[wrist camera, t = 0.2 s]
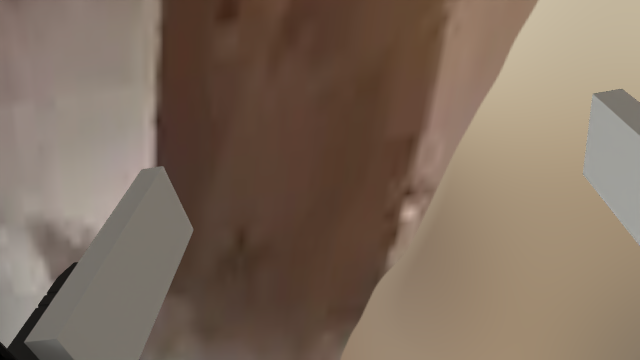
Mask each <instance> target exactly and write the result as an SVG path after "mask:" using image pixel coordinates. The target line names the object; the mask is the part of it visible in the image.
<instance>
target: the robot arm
mask: <svg viewBox="0 0 640 360" xmlns="http://www.w3.org/2000/svg"><path fill="white" fill-rule="evenodd" d="M583 175H584V176H585V177H586V178H587V180H588V181H589V182H590V184H591V185H592V186H593V188H594V189H595V190H596V191H597V193H598V194H599V195H600V196H601V198H602V199H603V200H604V201H605V203H606V204H607V205H608V206H609V208H610V209H611V210H612V211H613V213H614V214H615V215H616V217H617V218H618V219H619V220H620V222H621V223H622V224H623V226H624V227H625V228H626V229H627V231H628V232H629V233H630V234H631V235H632V237H633V238H634V239H635V241H636V242H637V243H638V245H639V246H640V102H638V101H637V100H636V99H635V98H633V97H632V96H631V95H629V94H628V93H627V92H625V91H624V90H623V89H618V90H612V91H606V92H600V93H594V94H593V96H592V104H591V112H590V120H589V128H588V136H587V144H586V153H585V161H584V169H583ZM192 232H193V228H192V226H191V224H190V221H189V219H188V217H187V215H186V213H185V211H184V209H183V207H182V205H181V203H180V201H179V199H178V196H177V194H176V192H175V190H174V188H173V186H172V184H171V182H170V180H169V178H168V176H167V173H166V171H165V169H164V167H163V166H161V167H155V168H149V169H143V170H141V171H140V173H139V174H138V176H137V177H136V179H135V180H134V182H133V183H132V184H131V186H130V187H129V189H128V190H127V192H126V193H125V195H124V196H123V198H122V199H121V201H120V202H119V204H118V205H117V206H116V208H115V209H114V211H113V212H112V214H111V215H110V217H109V218H108V220H107V221H106V223H105V224H104V226H103V227H102V228H101V230H100V231H99V233H98V234H97V236H96V237H95V239H94V240H93V242H92V243H91V245H90V246H89V248H88V249H87V250H86V252H85V253H84V255H83V256H82V258H81V259H80V261H79V262H75V263H73V264H72V265H71V266H70V267H69V268H67V269H66V270H65V271H64V272H63V273H62V274H61V275H60V276H59V277H58V278H57V279H56V280H55V282H54V283H53V285H52V286H51V287H50V289H49V290H48V292H47V295H45V296H44V297H43V299H42V300H41V302H40V303H39V304H38V308H36V309H35V310H34V312H33V313H32V314H31V316H30V317H29V319H28V320H27V321H26V323H25V324H24V326H23V327H22V328H21V330H20V331H19V333H18V334H17V336H16V337H15V338H14V340H13V341H12V343H11V344H10V345H9V347H8V348H6V347H5V346H4V345H3V344H2V343H1V342H0V360H139V358H140V356H141V353H142V351H143V348H144V346H145V344H146V341H147V339H148V337H149V334H150V332H151V330H152V327H153V325H154V322H155V320H156V318H157V315H158V313H159V311H160V308H161V306H162V303H163V301H164V299H165V296H166V294H167V292H168V289H169V287H170V284H171V282H172V280H173V277H174V275H175V273H176V270H177V268H178V266H179V263H180V261H181V258H182V256H183V254H184V251H185V249H186V247H187V244H188V242H189V239H190V237H191V235H192Z"/></svg>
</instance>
